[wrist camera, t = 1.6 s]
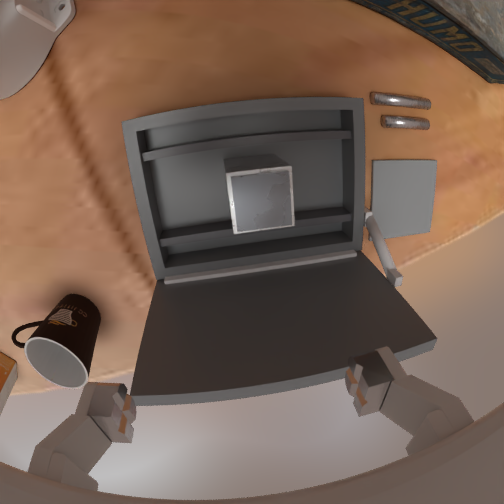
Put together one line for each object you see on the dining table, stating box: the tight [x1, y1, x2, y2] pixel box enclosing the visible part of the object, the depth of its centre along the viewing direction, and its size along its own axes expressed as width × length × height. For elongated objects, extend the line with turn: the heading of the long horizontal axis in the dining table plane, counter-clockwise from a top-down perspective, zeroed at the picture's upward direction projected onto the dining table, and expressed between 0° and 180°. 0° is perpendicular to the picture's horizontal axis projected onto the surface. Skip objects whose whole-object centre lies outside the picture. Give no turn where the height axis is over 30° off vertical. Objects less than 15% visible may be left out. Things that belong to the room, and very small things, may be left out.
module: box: [223, 154, 295, 234], centre depth 26 cm, size 5×5×7 cm
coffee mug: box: [12, 294, 101, 389], centre depth 30 cm, size 12×9×10 cm
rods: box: [370, 92, 431, 130], centre depth 27 cm, size 4×8×1 cm, turn 96°
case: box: [122, 97, 437, 406], centre depth 22 cm, size 17×23×18 cm
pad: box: [369, 160, 437, 241], centre depth 33 cm, size 10×10×1 cm
